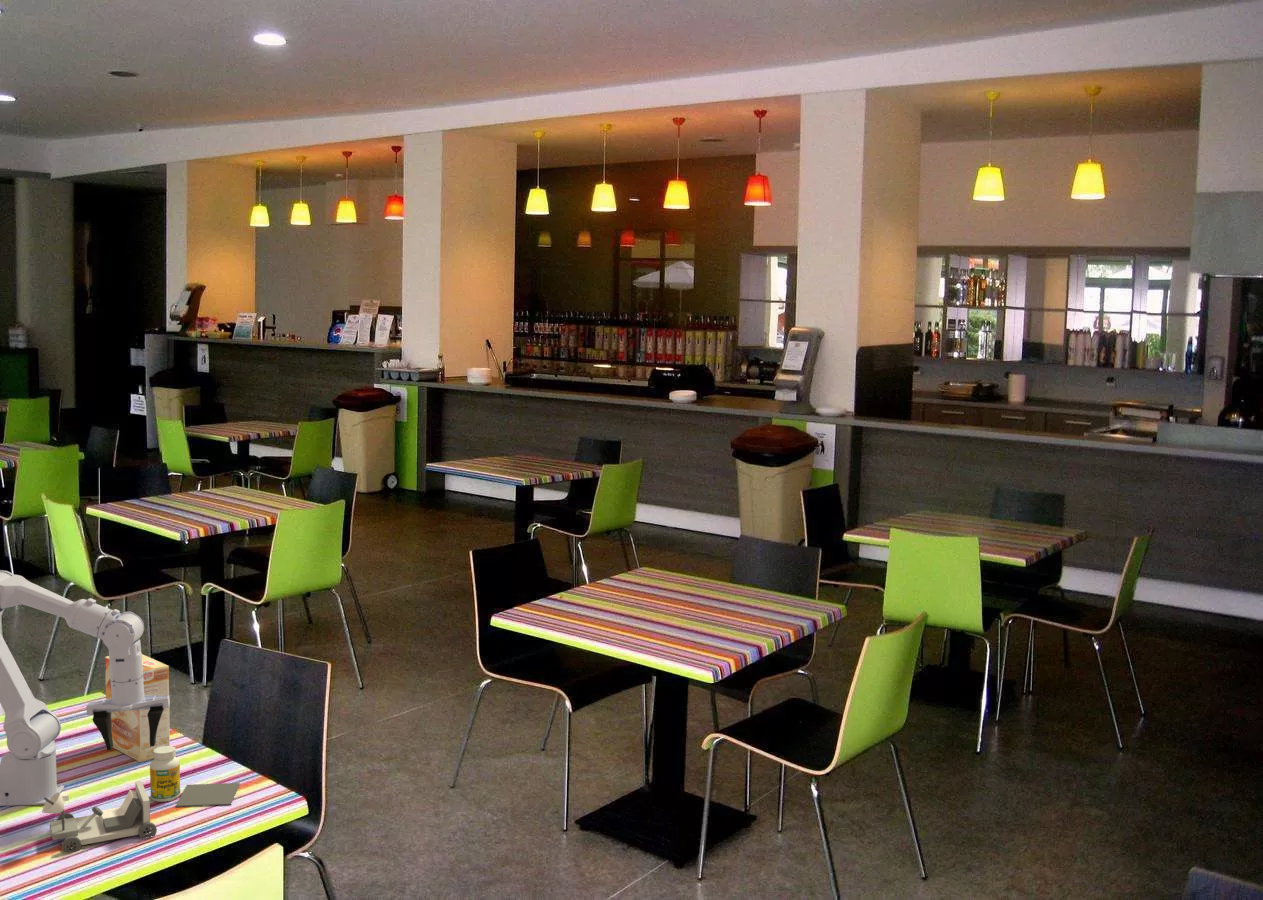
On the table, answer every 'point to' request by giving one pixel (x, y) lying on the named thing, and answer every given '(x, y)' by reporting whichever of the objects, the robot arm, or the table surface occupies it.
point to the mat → (208, 794)
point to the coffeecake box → (141, 714)
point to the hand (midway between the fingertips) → (131, 746)
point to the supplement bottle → (164, 774)
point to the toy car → (101, 820)
